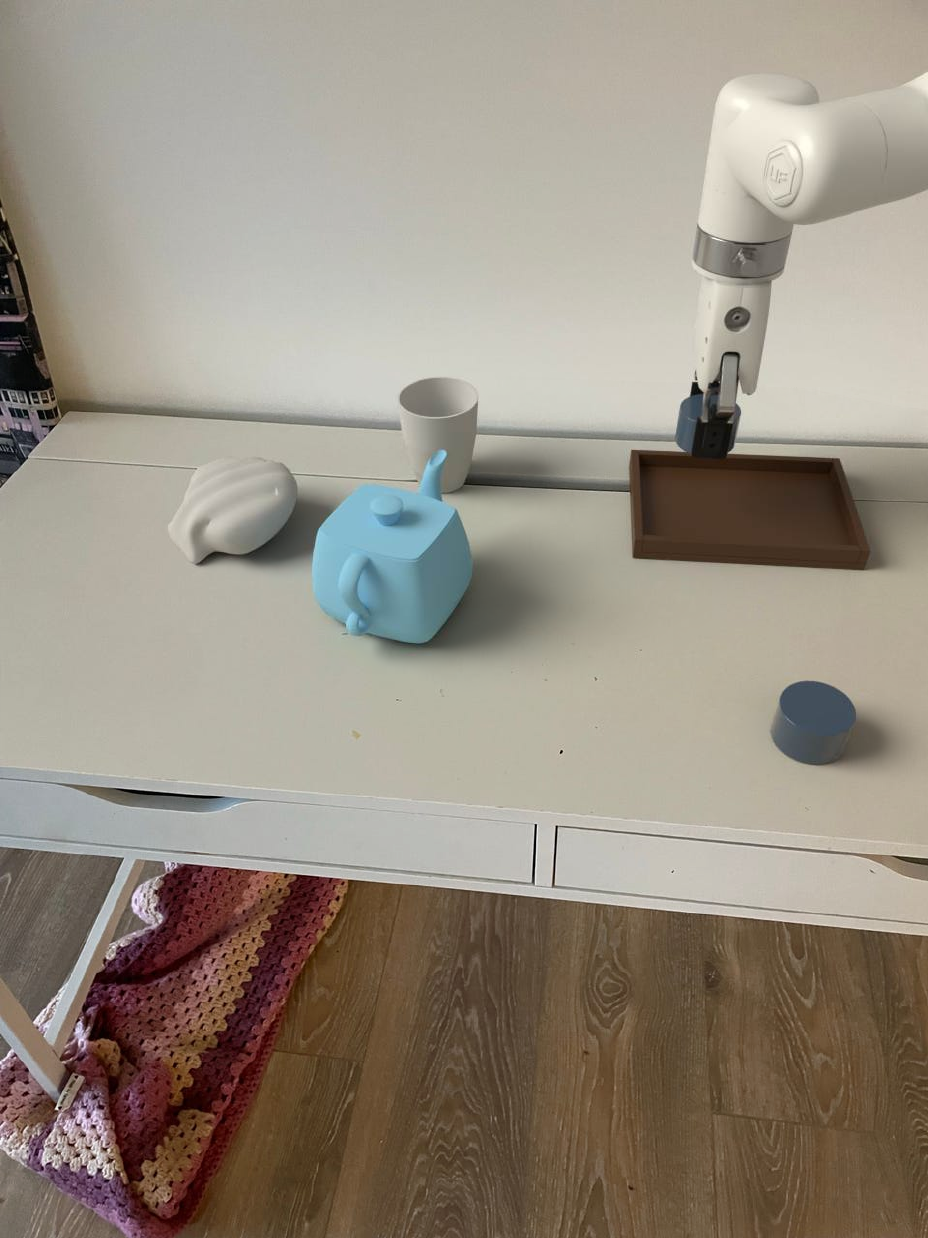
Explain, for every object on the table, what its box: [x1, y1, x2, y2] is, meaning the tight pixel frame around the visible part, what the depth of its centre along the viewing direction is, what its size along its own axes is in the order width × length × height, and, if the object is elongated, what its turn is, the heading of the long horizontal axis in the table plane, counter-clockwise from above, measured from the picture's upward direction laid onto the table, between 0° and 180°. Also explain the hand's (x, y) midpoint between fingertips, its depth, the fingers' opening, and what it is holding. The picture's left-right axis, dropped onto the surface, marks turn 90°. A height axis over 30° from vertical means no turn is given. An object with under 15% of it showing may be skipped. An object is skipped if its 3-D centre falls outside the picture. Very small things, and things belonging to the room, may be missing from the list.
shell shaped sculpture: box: [167, 456, 298, 565], centre depth 93 cm, size 13×13×6 cm
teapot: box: [311, 450, 473, 644], centre depth 83 cm, size 12×18×12 cm
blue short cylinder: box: [674, 394, 742, 454], centre depth 89 cm, size 6×6×4 cm
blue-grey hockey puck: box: [770, 680, 857, 766], centre depth 72 cm, size 6×6×4 cm
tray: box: [628, 449, 871, 571], centre depth 94 cm, size 22×16×2 cm
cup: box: [396, 376, 479, 494], centre depth 97 cm, size 8×8×10 cm
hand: (705, 436), depth 89 cm, fingers closed on blue short cylinder, 5 cm apart
